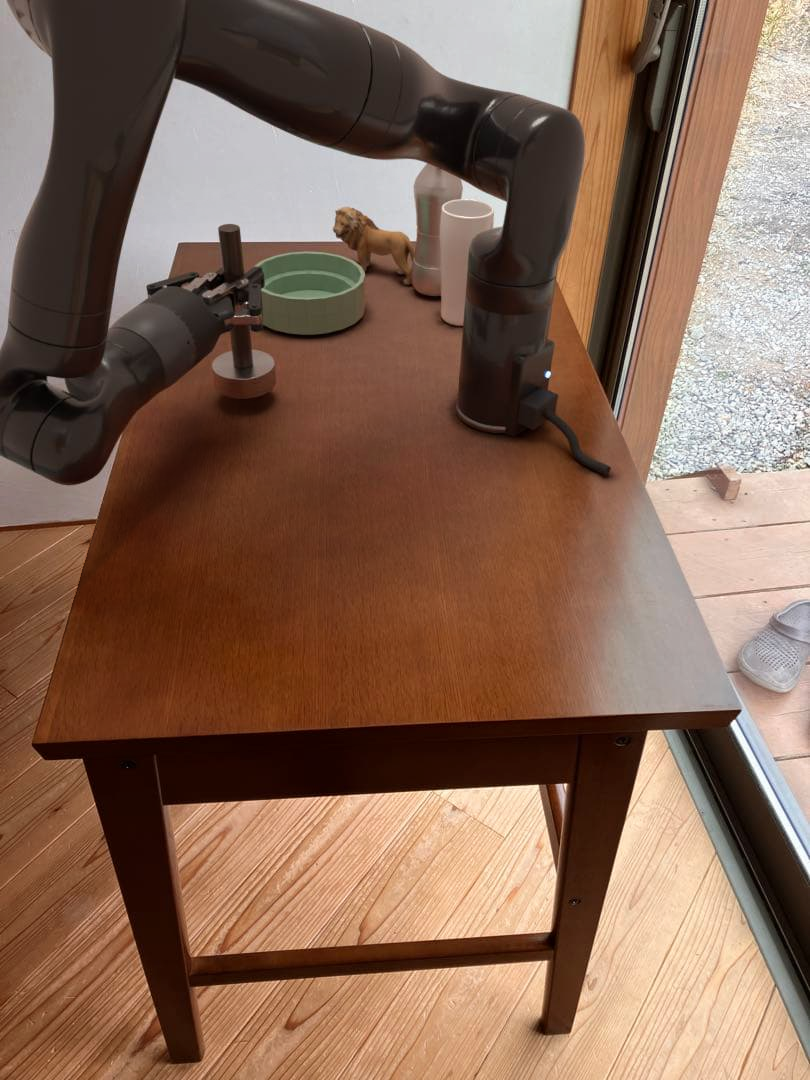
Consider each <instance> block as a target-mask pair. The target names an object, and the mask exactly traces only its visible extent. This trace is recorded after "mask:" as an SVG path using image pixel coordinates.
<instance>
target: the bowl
mask: <svg viewBox="0 0 810 1080" xmlns="http://www.w3.org/2000/svg"><path fill="white" fill-rule="evenodd" d="M254 266H257V267H261V268H262V271H263V272H264V280H265V286H264V288H262V289H261V293H262V305H263V326H265V327H267V328H269V329H271V330H273V331H277V332H281V333H286V334H291V335H302V336H315V335H316V336H317V335H323V334H329V333H332V332H337V331H341V330H344V329H346V328H349V327H351V326H353V325H355V324H357V322H358V321H360V319H361V318H363V317H364V314H365V311H366V273H365V272H364V270H363V268H362V267H361V266H360V263H357V261H355V260H353V259H351V258H348V257H345V256H343V255H340V254H334V253H330V252H323V251H321V252H320V251H294V252H293V251H292V252H286V253H282V254H276V255H273V256H270V257H268V258H265V259H262V260H260V261H259V262H258V263H256V264H255V265H254Z"/></svg>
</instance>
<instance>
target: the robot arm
mask: <svg viewBox="0 0 810 1080" xmlns="http://www.w3.org/2000/svg"><path fill="white" fill-rule="evenodd" d="M6 2H7V5H8V7H9V9H10V12H11V13H12V15H13V17H14V18H15V20H16V21H17V23H18V24H19V26H20V28H22V29H23V31H24V32H25V34H26V35H27V36H28V38H29V39H30V40H31V41H32V42H33V43H34V44H35V46H36V47H38V48H39V49H40V50H41V51H42V52H43V53H45V54H46V55H47V56H48V57H49V58H50V59H51V68H52V69H51V70H52V71H51V73H52V90H53V91H52V93H53V95H52V97H53V118H52V119H53V120H52V121H53V122H52V123H53V124H52V132H51V133H52V135H51V141H50V148H49V153H48V158H47V161H46V167H45V170H44V174H43V177H42V180H41V183H40V186H39V188H38V191H37V194H36V196H35V198H34V200H33V202H32V204H31V207H30V209H29V211H28V212H27V213H28V214H27V216H26V218H25V221H24V222H23V226H22V228H21V231H20V234H19V236H18V240H17V244H16V248H15V253H14V257H13V258H14V259H13V265H12V273H11V284H10V293H9V304H8V316H7V317H8V318H7V329H6V333H5V336H4V339H3V340H2V341H3V342H2V344H1V346H0V457H2V458H4V459H6V460H8V461H11V462H12V463H14V464H16V465H19V466H20V467H23V468H25V469H27V470H29V471H31V472H33V473H36V474H37V475H39V476H40V477H43V478H45V479H46V480H49V481H51V482H53V483H55V484H59V485H62V486H78V485H81V484H83V483H87V482H88V481H91V480H93V479H95V478H96V477H97V476H98V475H99V474H100V473H101V472H102V470H103V469H104V468H105V466H106V464H107V463H108V461H109V459H110V457H111V455H112V453H113V451H114V449H115V447H116V446H117V443H118V441H119V439H120V438H121V436H122V434H123V433H124V431H125V429H126V428H127V426H128V425H129V424H130V422H131V420H132V419H133V417H134V416H135V415H136V414H137V412H138V411H140V410H142V408H143V407H144V406H145V405H147V404H148V403H149V402H150V401H151V400H152V399H154V398H155V397H156V396H157V395H158V394H160V393H161V392H164V391H165V390H167V389H168V388H170V387H172V386H174V384H176V383H177V382H179V380H181V379H182V378H183V377H184V376H185V375H186V374H188V373H189V372H190V371H191V370H192V369H194V368H195V367H196V366H198V364H199V363H201V362H202V361H203V360H204V359H206V357H208V356H209V355H211V353H212V352H213V351H214V349H215V347H216V345H217V343H218V341H219V339H220V337H221V335H223V334H225V333H230V331H231V330H233V329H234V328H235V325H245V324H246V325H247V326H250V332H254V333H259V332H261V331H263V330H264V329H263V327H264V325H263V305H262V293H261V289H262V288H264V286H265V280H264V272H263V271H262V268H261V267H257V266H255V265H254V266H252V267H251V268H250V269H249V270H248V271H246V272H244V275H243V276H241V277H240V278H239V279H238V280H236V281H235V282H233V283H232V284H230V283H224V277H223V268H222V267H221V268H219V269H218V270H216V271H215V272H213V271H212V272H207V273H205V274H204V275H203V276H200V273H199V272H198V271H190V272H187V273H183V274H180V275H176V276H173V277H169V278H165V279H163V280H159V281H156V282H153V283H152V282H151V283H148V284H147V285H146V292H147V294H146V295H147V298H145V299H144V300H143V301H141V302H140V303H138V304H137V305H136V306H134V307H133V308H132V309H130V310H128V311H127V312H126V313H124V314H123V315H121V316H120V317H119V318H118V319H116V321H114V322H113V324H111V326H110V321H111V313H112V308H113V303H114V295H115V288H116V281H117V275H118V270H119V265H120V264H119V263H120V259H121V255H122V249H123V244H124V241H125V237H126V232H127V228H128V224H129V220H130V216H131V214H132V209H133V206H134V202H135V199H136V195H137V192H138V189H139V186H140V183H141V179H142V176H143V173H144V170H145V167H146V164H147V160H148V157H149V155H150V151H151V147H152V144H153V141H154V138H155V134H156V132H157V129H158V126H159V123H160V120H161V117H162V114H163V111H164V108H165V106H166V103H167V100H168V97H169V94H170V91H171V89H172V85H173V83H174V80H176V81H181V82H183V83H186V84H189V85H191V86H194V87H196V88H199V89H200V90H203V91H205V92H208V93H210V94H212V95H214V96H216V97H217V98H219V99H221V100H223V101H224V102H227V103H229V104H230V105H232V106H234V107H236V108H238V109H239V110H241V111H243V112H245V113H247V114H249V115H251V116H253V117H255V118H256V119H258V120H260V121H263V122H264V123H266V124H268V125H270V126H272V127H275V128H277V129H279V130H281V131H283V132H285V133H286V134H290V135H292V136H294V137H297V138H298V139H302V140H304V141H306V142H309V143H311V144H315V145H317V146H321V147H324V148H328V149H331V150H334V151H337V152H342V153H345V154H348V155H350V156H355V157H359V158H360V157H361V158H365V159H369V160H370V159H371V160H375V161H376V160H377V161H378V160H379V161H398V160H399V161H400V160H412V161H413V160H415V161H419V162H423V163H425V164H427V163H428V164H430V165H433V166H435V167H437V168H439V169H442V170H444V171H446V172H448V173H450V174H452V175H454V176H456V177H458V178H460V179H461V181H463V182H465V183H468V184H469V185H471V186H472V187H474V188H475V189H477V190H479V191H481V192H483V193H485V194H487V195H490V196H492V197H494V198H496V199H499V200H501V201H504V202H506V205H505V213H504V216H503V217H504V218H503V223H502V226H495V227H493V228H492V229H488V230H485V231H483V232H480V233H479V234H477V235H476V236H475V237H474V238H473V239H472V241H471V243H470V247H469V255H468V270H467V283H466V295H465V308H464V321H463V326H462V333H461V334H462V335H461V349H460V358H459V359H460V361H459V373H458V387H457V399H456V405H455V413H456V415H457V416H458V418H459V419H460V420H461V421H462V422H463V423H464V424H466V425H468V426H469V427H471V428H474V429H476V430H479V431H482V432H487V433H492V434H505V435H508V436H510V437H516V436H518V435H519V434H520V433H522V432H523V431H525V430H526V429H528V428H529V429H531V430H534V431H535V429H537V428H539V427H540V426H541V425H543V424H544V423H546V422H547V421H549V423H551V424H552V425H554V426H555V428H557V429H558V430H559V431H560V432H561V433H562V434H563V435H564V436H565V438H566V440H567V441H568V444H569V448H570V451H571V454H572V455H573V457H574V458H575V459H576V460H577V461H578V462H579V463H580V464H582V465H583V466H585V467H587V468H588V469H591V470H593V471H596V472H599V473H601V474H603V475H604V476H607V475H609V473H610V472H611V468H612V467H611V466H610V465H608V464H606V463H603V462H601V461H598V460H596V459H594V458H591V457H589V456H588V455H587V454H585V452H583V450H582V448H581V445H580V441H579V439H578V437H577V434H576V433H575V432H574V430H573V429H572V427H571V426H570V425H569V424H568V423H566V421H564V420H563V419H562V418H561V417H560V416H558V415H557V414H556V412H557V411H556V409H557V403H558V397H559V394H558V393H557V392H555V391H552V390H549V383H550V377H551V370H552V364H553V357H554V352H555V351H554V350H555V342H554V341H553V340H551V339H550V338H549V332H550V331H549V330H550V325H551V324H550V323H551V317H552V311H553V310H552V309H553V303H554V296H555V289H556V282H557V275H558V270H559V269H558V268H559V264H560V259H561V258H562V255H563V253H564V252H565V248H566V246H567V245H568V241H569V239H570V235H571V230H572V226H573V221H574V215H575V210H576V206H577V200H578V197H579V196H578V195H579V191H580V186H581V181H582V175H583V171H584V165H585V157H586V139H585V131H584V128H583V125H582V122H581V121H580V119H579V117H577V116H576V114H575V113H573V112H571V111H570V110H569V109H566V108H564V107H561V106H558V105H555V104H552V103H549V102H546V101H543V100H540V99H537V98H533V97H531V96H527V95H524V94H520V93H515V92H511V91H505V90H498V89H494V88H489V87H485V86H480V85H477V84H472V83H469V82H466V81H461V80H458V79H456V78H455V79H454V78H452V77H449V76H447V75H445V74H443V73H442V72H439V71H438V70H436V69H435V68H434V67H433V66H432V65H431V64H430V63H429V62H427V60H425V58H423V57H422V56H421V55H420V54H419V53H418V52H417V51H415V50H414V49H412V48H411V47H409V46H408V45H406V44H404V43H403V42H401V41H399V40H398V39H396V38H394V37H392V36H390V35H388V34H386V33H384V32H382V31H380V30H378V29H375V28H373V27H370V26H369V25H366V24H363V23H362V22H359V21H358V20H355V19H352V18H350V17H348V16H345V15H342V14H338V13H336V12H333V11H330V10H328V9H325V8H322V7H320V6H317V5H314V4H312V3H309V2H305V1H302V0H6ZM185 284H188V285H185ZM238 297H239V298H238ZM48 377H50V378H57V379H64V383H65V387H66V389H67V390H64V389H62V388H60V387H57V386H56V385H54V384H51V383H49V380H48Z"/></svg>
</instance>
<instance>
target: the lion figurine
mask: <svg viewBox="0 0 810 1080" xmlns="http://www.w3.org/2000/svg"><path fill="white" fill-rule="evenodd" d="M334 212H335V216H334V217H335V218H334V225H333V227H332V231H333V233H334V234H335V238H336V239H340V240H341V241H342V242H344V243H345V244H347V247H348V249H350V250H351V251H356V252H357V254H356V255H357V259H358V262H359V265H360V266H361V267H362V268H363V270H364V273H365V272H366V270H367V267H369V266H370V264H371V256H372V254H375V255H377V256H389V255H391V256H392V259H393V260H394V263H395V264H396V266H398V269H397V271H396V273H397V274H399V275H405V276H406V278H403V281H402V282H403V285H405V286H410V285H411V284H412V278H411V270H412V268H411V267H410V266H409V263H408V259H409V257H410V259H411V263H413V260H414V256H415V249H414V247H413V244H412V242H411V240H410V238H409V236H408V235H407V234H405V233H404V232H402V231H392V230H391V231H390V230H384V229H381V228H379V227H378V226H377V225H376V224H375V223H374V221H373V220H372V219H371V218H370V217H368V215H364V213H363V212H362V211H360V210H358V209H355V208H354V207H350V206H343V207H340V208H338V209H337V210H335V211H334Z"/></svg>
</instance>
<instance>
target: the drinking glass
mask: <svg viewBox="0 0 810 1080" xmlns="http://www.w3.org/2000/svg"><path fill="white" fill-rule="evenodd" d="M494 221H495V208H494V207H493V205H491V204H490V203H487V202H485V201H482V200H477V199H471V198H469V199H468V198H466V199H465V198H461V199H458V200H452V201H449V202H446V203H445V204H444V205H443V206H442V210H441V219H440V273H441V296H440V299H441V300H440V303H441V304H440V317H441V318H442V320H443V321H444V322H445V323H447V324H449V325H452V326H458V327H463V321H464V308H465V295H466V283H467V270H468V255H469V247H470V243H471V241H472V239H473V238H474V237H475V236H476V235H477V234H479V233H480V232H483V231H485V230H488V229H492V228H494V225H495V224H494Z"/></svg>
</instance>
